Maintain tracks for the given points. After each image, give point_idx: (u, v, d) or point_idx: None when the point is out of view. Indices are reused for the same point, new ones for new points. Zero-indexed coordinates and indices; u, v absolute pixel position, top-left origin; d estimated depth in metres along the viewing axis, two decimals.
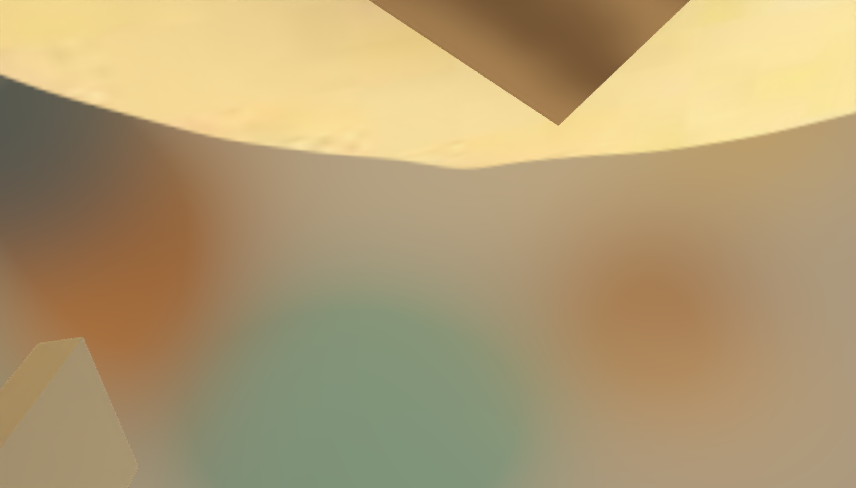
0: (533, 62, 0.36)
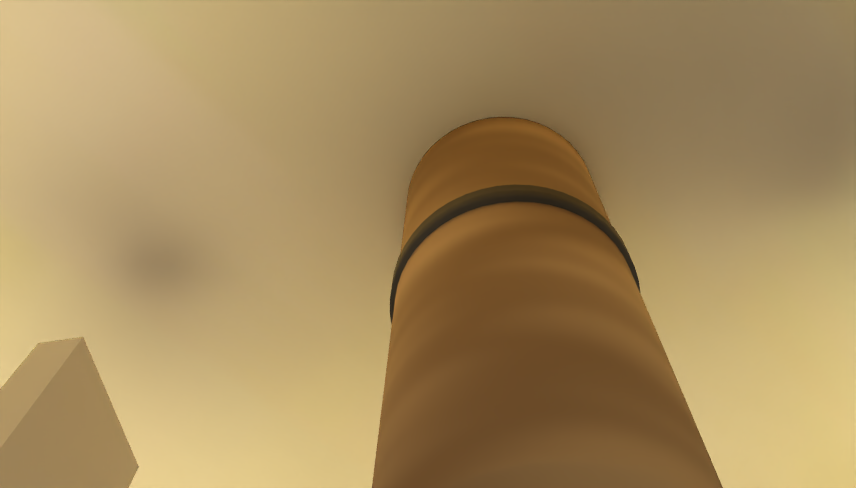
0: None
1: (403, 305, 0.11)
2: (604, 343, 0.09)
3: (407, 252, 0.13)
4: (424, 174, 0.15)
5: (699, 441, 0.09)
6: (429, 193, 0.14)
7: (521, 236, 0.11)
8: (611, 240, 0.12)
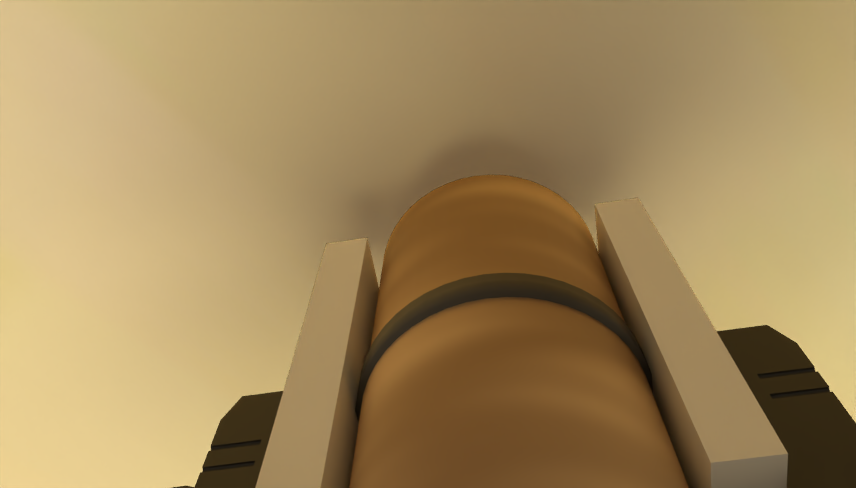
0: None
1: (366, 433, 0.09)
2: None
3: (374, 355, 0.10)
4: (400, 244, 0.13)
5: None
6: (404, 273, 0.12)
7: (512, 352, 0.09)
8: (623, 342, 0.10)
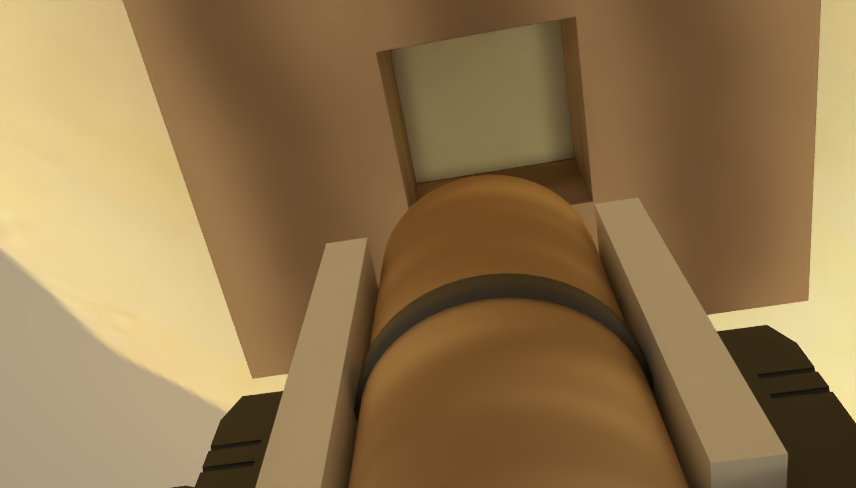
0: (277, 291, 0.27)
1: (365, 435, 0.09)
2: None
3: (373, 356, 0.10)
4: (399, 244, 0.13)
5: None
6: (403, 274, 0.12)
7: (512, 352, 0.09)
8: (623, 343, 0.10)
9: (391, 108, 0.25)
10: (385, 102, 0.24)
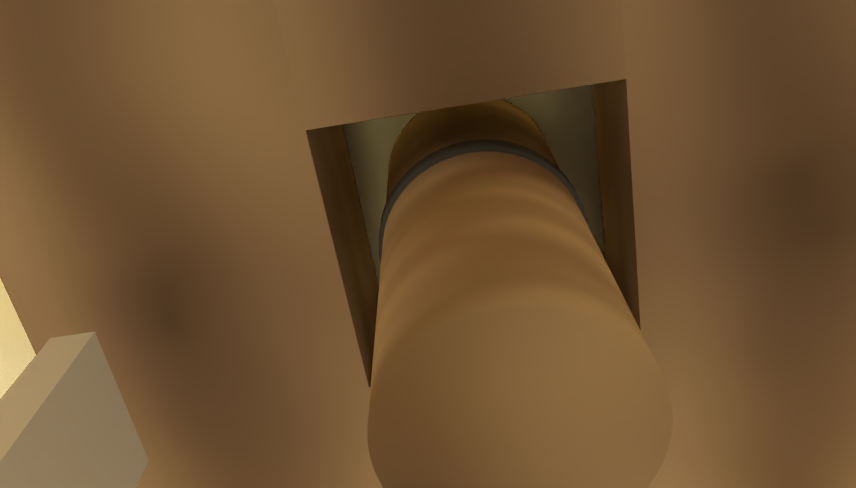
0: (170, 467, 0.18)
1: (391, 234, 0.14)
2: (555, 240, 0.11)
3: (393, 197, 0.15)
4: (404, 142, 0.18)
5: (628, 310, 0.11)
6: (409, 154, 0.16)
7: (487, 173, 0.14)
8: (563, 183, 0.15)
9: (335, 208, 0.17)
10: (322, 206, 0.15)
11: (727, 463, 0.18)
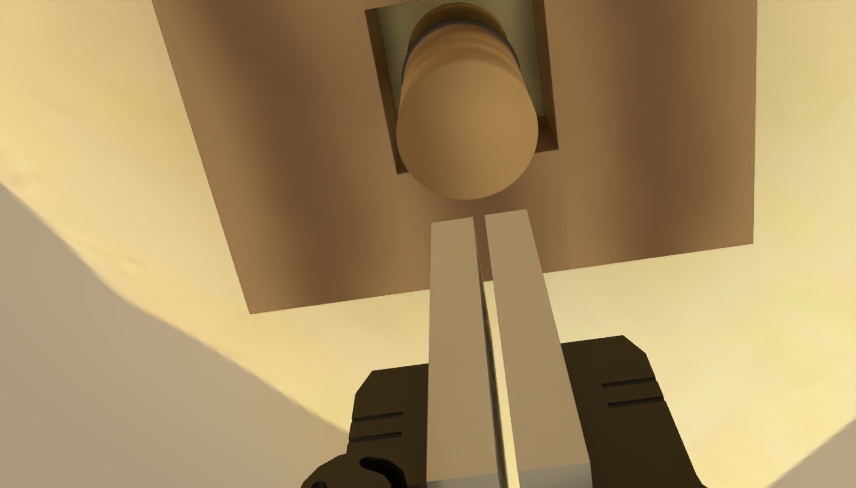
0: (273, 231, 0.30)
1: (408, 64, 0.26)
2: (488, 51, 0.23)
3: (409, 50, 0.27)
4: (417, 29, 0.29)
5: (522, 82, 0.23)
6: (420, 31, 0.28)
7: (460, 30, 0.25)
8: (505, 42, 0.27)
9: (378, 63, 0.28)
10: (372, 56, 0.27)
11: (614, 226, 0.30)
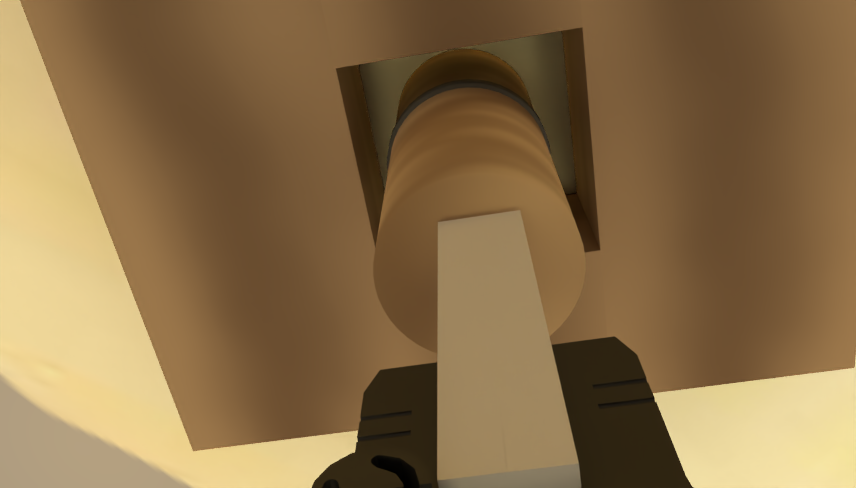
0: (221, 351, 0.23)
1: (396, 147, 0.18)
2: (510, 142, 0.16)
3: (398, 123, 0.19)
4: (410, 86, 0.22)
5: (560, 190, 0.15)
6: (413, 93, 0.21)
7: (469, 101, 0.18)
8: (529, 113, 0.19)
9: (357, 135, 0.21)
10: (348, 129, 0.20)
11: (671, 346, 0.23)
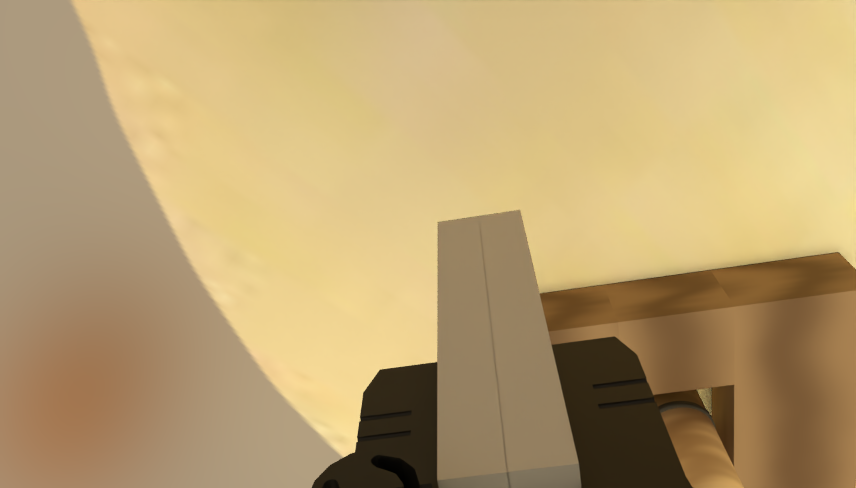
0: None
1: None
2: (716, 455, 0.40)
3: None
4: None
5: (738, 477, 0.40)
6: None
7: (688, 421, 0.42)
8: (708, 417, 0.43)
9: None
10: None
11: None
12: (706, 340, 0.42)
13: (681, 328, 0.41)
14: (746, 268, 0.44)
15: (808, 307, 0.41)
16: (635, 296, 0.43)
